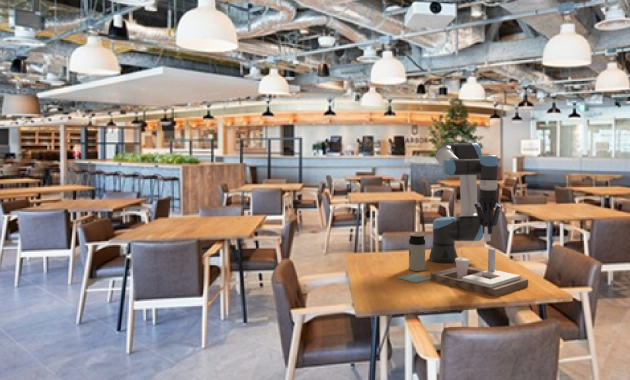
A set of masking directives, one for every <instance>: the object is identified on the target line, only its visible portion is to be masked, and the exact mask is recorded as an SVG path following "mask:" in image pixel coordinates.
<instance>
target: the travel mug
mask: <svg viewBox="0 0 630 380" xmlns="http://www.w3.org/2000/svg"><path fill="white" fill-rule="evenodd" d="M409 237H410V238H409V239H408V269H409V270H410V271H413V272H423V271H425V270H426V239H425V233H421V232H412V233H409Z"/></svg>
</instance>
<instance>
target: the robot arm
mask: <svg viewBox="0 0 630 380" xmlns="http://www.w3.org/2000/svg"><path fill="white" fill-rule="evenodd" d="M481 148H482V147H481V146H480V144H478V143H477V142H470V141H469V142H449V143H448V142H447V143H445V144H443V145H441V146H439V147H438V148H437V149H436V151H435V160H436V161H437V163H439V164H441V165H442V174H443V175H445V176H459V189H460V190H459V191H460V195H459V197H460V214H459V215H458V217H457V218H458V219H456V217H454V216H443V217H437V218H435V219H434V220H433V221H432V227H431V229H432V246H431V249H430V253H429V256H428V259H429V260H430V261H431V262H434V263H441V264H451V263H456V261H455V259H456V258H459V255H458V253H457V250H456V242H471V243H472V242H479V241H480V242H481V240H483V238H484V240H483V241H484V242H491V239H492V234H493V228H494V227H496V226H497V225H498V221H499V216H500V212H501V210H502V209H503V205H500V204H499V203H498V200H497V199H498V178H499V177H498V175H499V173H498V169H499V166H498V165H499V160H498V156H497V154H495V155H494V154H493V155H492V154H487V155H486V154H484V155H483V154H482V153H483V152H482V149H481ZM477 176H479V189H480V190H479V200H478V192H477V191H478V189H477V187H478V185H477Z"/></svg>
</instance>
